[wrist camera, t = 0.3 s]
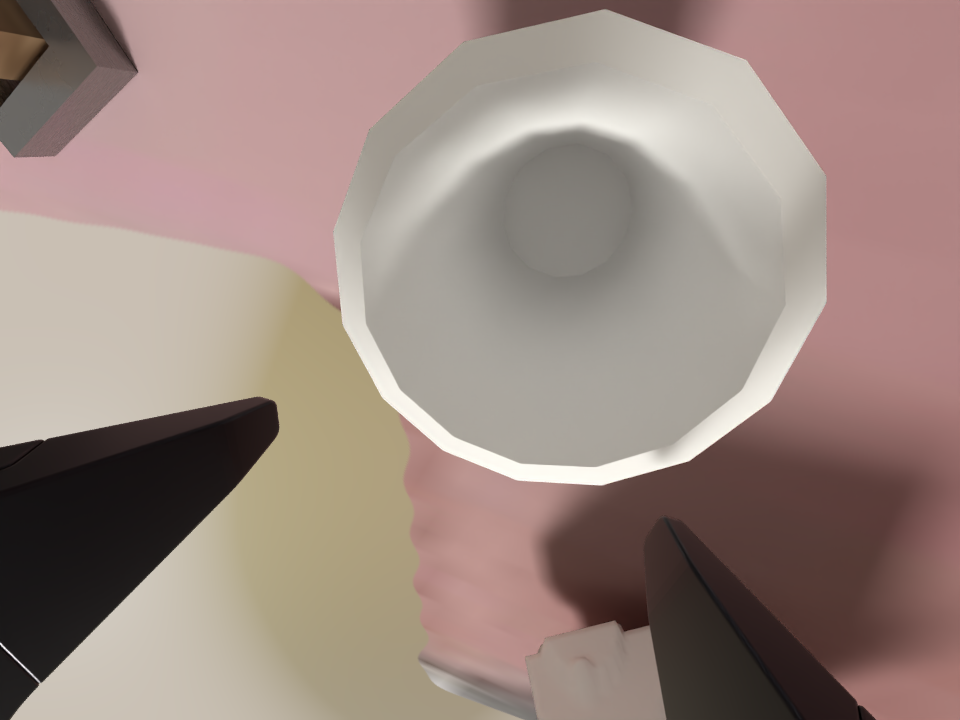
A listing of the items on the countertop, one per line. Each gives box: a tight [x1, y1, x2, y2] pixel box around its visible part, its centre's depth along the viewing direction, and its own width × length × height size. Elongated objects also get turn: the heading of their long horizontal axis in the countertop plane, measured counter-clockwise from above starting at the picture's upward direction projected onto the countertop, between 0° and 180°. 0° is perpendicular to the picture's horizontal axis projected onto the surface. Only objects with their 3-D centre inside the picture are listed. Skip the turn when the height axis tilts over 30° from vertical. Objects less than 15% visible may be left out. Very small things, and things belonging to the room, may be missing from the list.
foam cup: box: [333, 9, 826, 485], centre depth 14 cm, size 10×9×13 cm
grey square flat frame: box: [0, 0, 138, 157], centre depth 19 cm, size 9×9×2 cm
